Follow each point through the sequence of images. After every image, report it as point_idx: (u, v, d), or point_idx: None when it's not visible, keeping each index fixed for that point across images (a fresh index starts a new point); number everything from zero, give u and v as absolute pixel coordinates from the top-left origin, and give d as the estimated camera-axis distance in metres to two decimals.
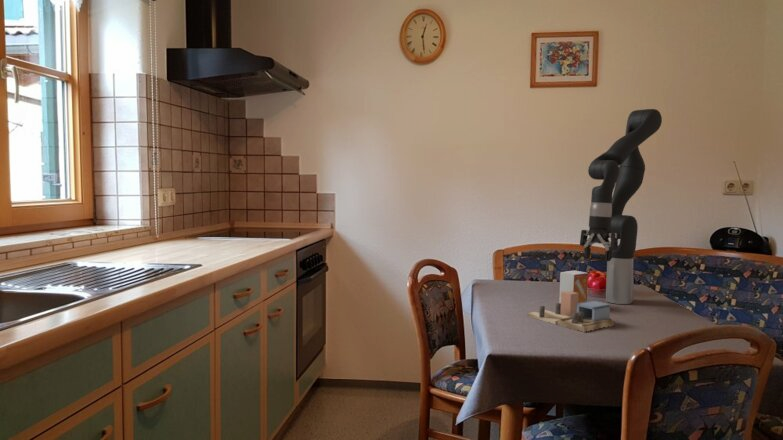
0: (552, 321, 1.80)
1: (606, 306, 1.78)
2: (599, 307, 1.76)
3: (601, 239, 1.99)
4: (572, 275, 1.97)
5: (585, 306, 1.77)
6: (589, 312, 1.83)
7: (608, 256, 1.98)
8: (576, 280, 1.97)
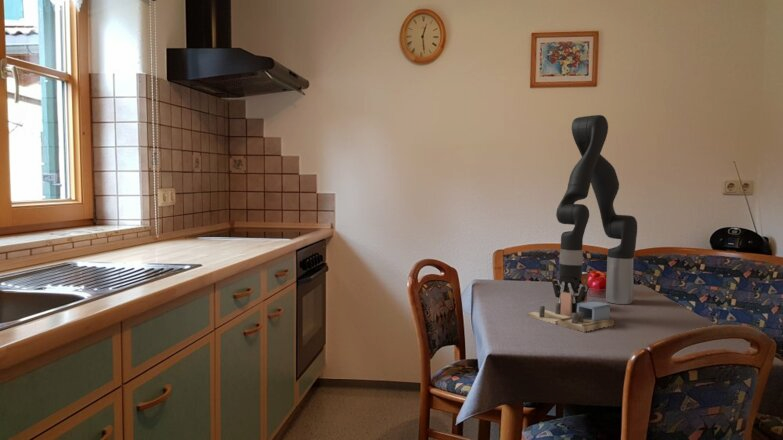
0: (552, 321, 1.80)
1: (606, 306, 1.78)
2: (599, 307, 1.76)
3: (570, 289, 1.87)
4: None
5: (585, 306, 1.77)
6: (589, 312, 1.83)
7: (575, 309, 1.87)
8: None
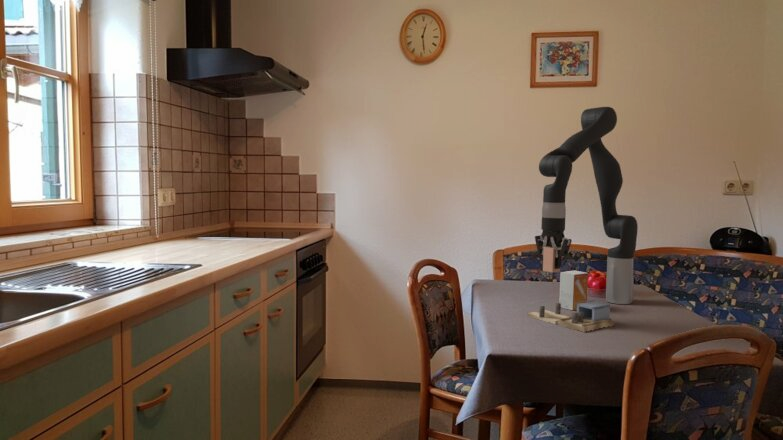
0: (552, 321, 1.80)
1: (606, 306, 1.78)
2: (599, 307, 1.76)
3: (553, 243, 1.82)
4: (572, 275, 1.97)
5: (585, 306, 1.77)
6: (589, 312, 1.83)
7: (557, 263, 1.82)
8: (576, 280, 1.97)
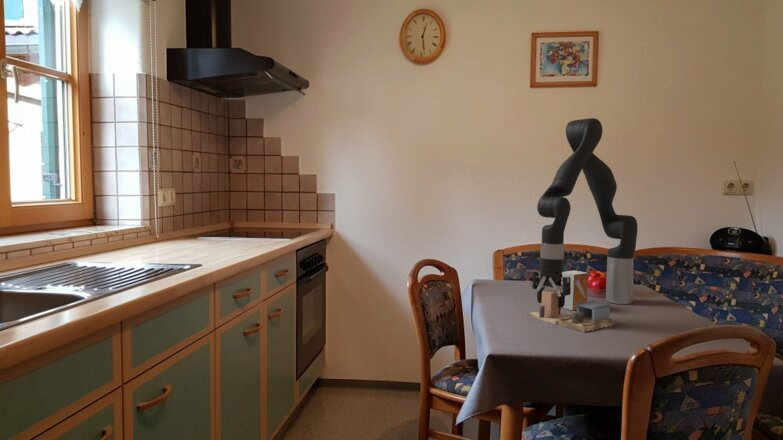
0: (552, 321, 1.80)
1: (606, 306, 1.78)
2: (599, 307, 1.76)
3: (553, 283, 1.82)
4: (572, 275, 1.97)
5: (585, 306, 1.77)
6: (589, 312, 1.83)
7: (560, 302, 1.81)
8: (576, 280, 1.97)
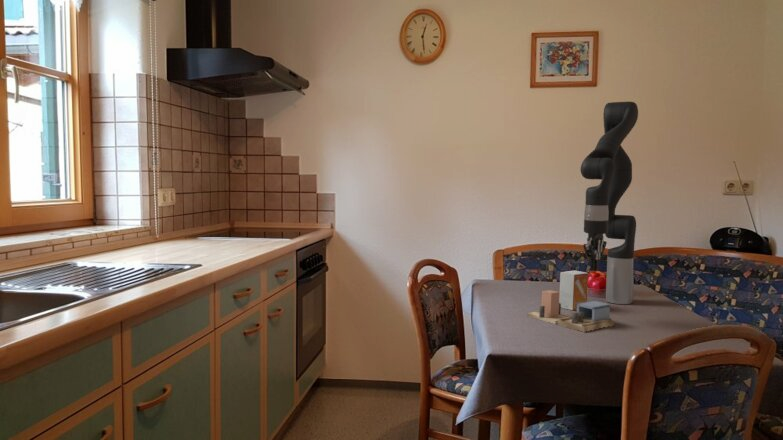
0: (552, 321, 1.80)
1: (606, 306, 1.78)
2: (599, 307, 1.76)
3: None
4: (572, 275, 1.97)
5: (585, 306, 1.77)
6: (589, 312, 1.83)
7: None
8: (576, 280, 1.97)
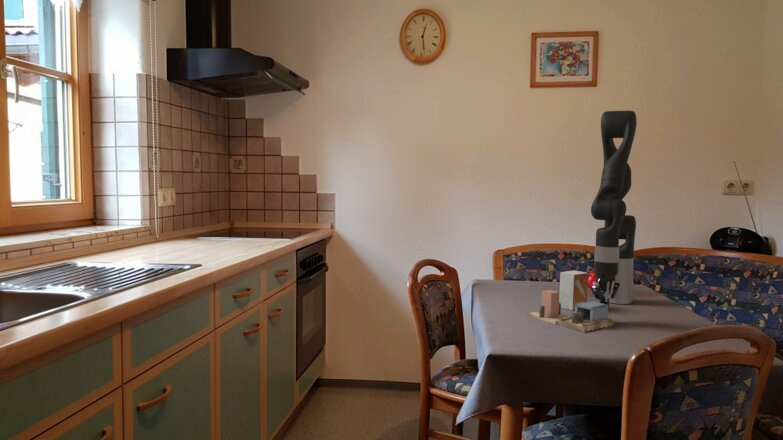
0: (552, 321, 1.80)
1: (604, 306, 1.77)
2: (597, 307, 1.75)
3: None
4: (572, 275, 1.97)
5: (583, 306, 1.77)
6: (588, 313, 1.82)
7: None
8: (576, 280, 1.97)
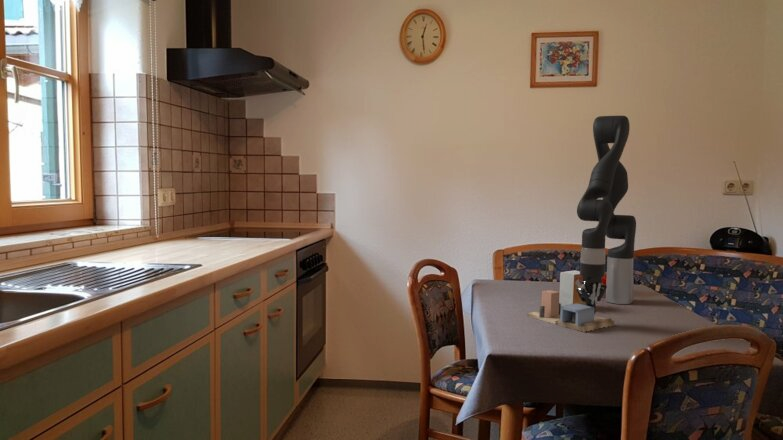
0: (552, 321, 1.80)
1: (590, 309, 1.73)
2: (583, 310, 1.71)
3: None
4: (572, 275, 1.97)
5: (569, 309, 1.73)
6: None
7: None
8: (576, 280, 1.97)
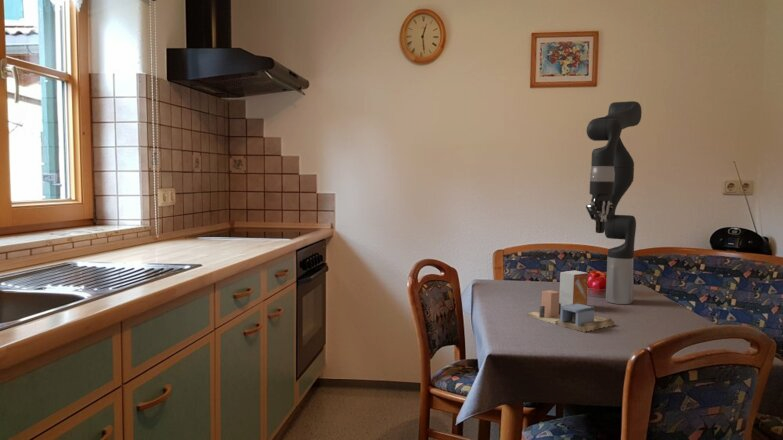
0: (552, 321, 1.80)
1: (590, 309, 1.73)
2: (583, 310, 1.71)
3: None
4: (572, 275, 1.97)
5: (569, 309, 1.73)
6: None
7: None
8: (576, 280, 1.97)
